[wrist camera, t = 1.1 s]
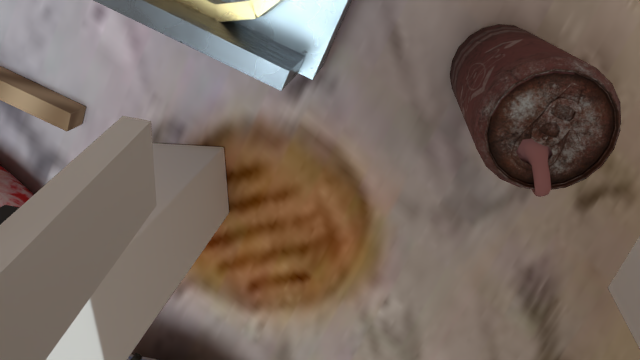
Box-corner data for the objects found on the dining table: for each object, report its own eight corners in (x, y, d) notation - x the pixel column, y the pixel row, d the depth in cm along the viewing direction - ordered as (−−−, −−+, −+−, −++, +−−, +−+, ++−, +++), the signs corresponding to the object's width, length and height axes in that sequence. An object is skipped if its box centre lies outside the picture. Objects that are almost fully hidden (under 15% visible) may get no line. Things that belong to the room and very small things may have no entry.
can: (456, 123, 35) (486, 212, 23) (443, 35, 33) (470, 78, 20) (545, 108, 34) (631, 192, 21) (539, 14, 32) (630, 47, 19)
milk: (224, 146, 39) (43, 333, 19) (230, 213, 41) (74, 443, 21) (152, 142, 40) (-95, 318, 20) (162, 208, 42) (-50, 425, 22)
